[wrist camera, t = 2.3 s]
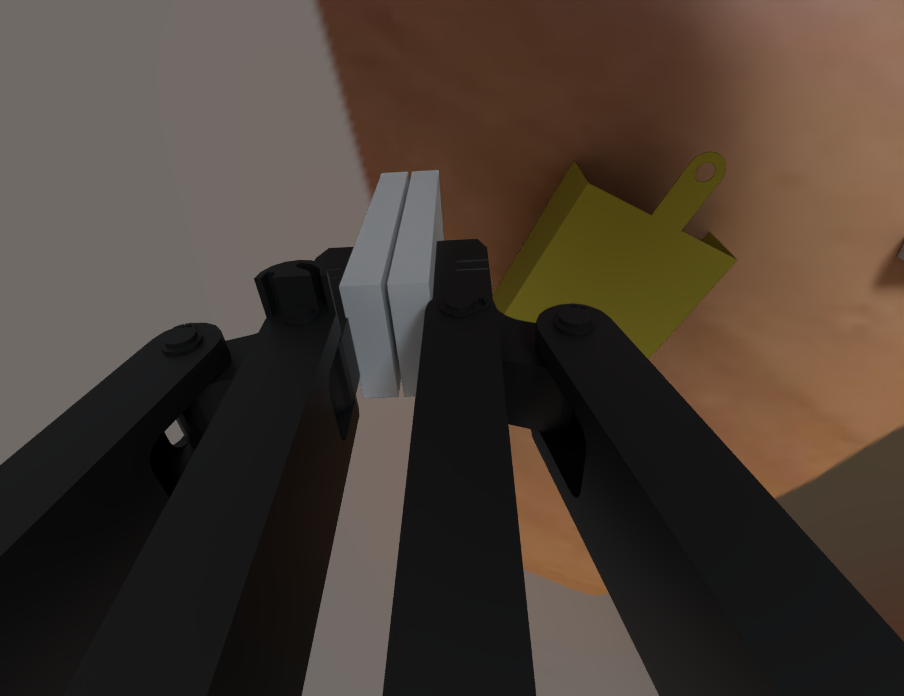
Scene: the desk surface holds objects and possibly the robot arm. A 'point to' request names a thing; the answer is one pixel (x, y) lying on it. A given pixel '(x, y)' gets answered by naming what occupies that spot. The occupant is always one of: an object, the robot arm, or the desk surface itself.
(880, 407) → the desk surface
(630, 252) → the bracket
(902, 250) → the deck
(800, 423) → the desk surface
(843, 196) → the desk surface
